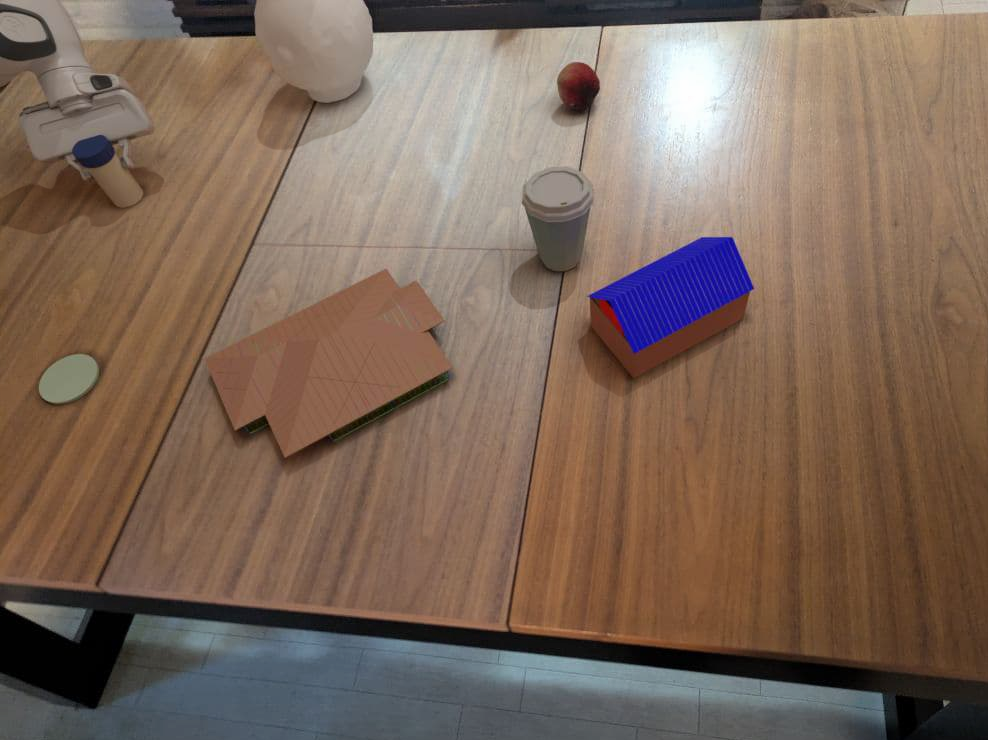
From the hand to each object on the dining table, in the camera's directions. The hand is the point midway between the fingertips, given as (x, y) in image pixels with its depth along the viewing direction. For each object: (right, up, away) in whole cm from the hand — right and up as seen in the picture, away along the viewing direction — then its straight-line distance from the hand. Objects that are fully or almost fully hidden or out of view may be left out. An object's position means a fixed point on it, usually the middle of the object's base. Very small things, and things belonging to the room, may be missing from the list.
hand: (109, 173), depth 126 cm
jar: (0, -3, +5) cm, 6 cm away
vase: (+35, +23, +17) cm, 46 cm away
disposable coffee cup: (+80, -17, -12) cm, 83 cm away
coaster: (+4, -37, -16) cm, 41 cm away
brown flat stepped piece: (+47, -36, -20) cm, 63 cm away
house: (+95, -29, -21) cm, 102 cm away
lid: (-1, +3, -4) cm, 5 cm away
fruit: (+84, +15, +7) cm, 86 cm away
